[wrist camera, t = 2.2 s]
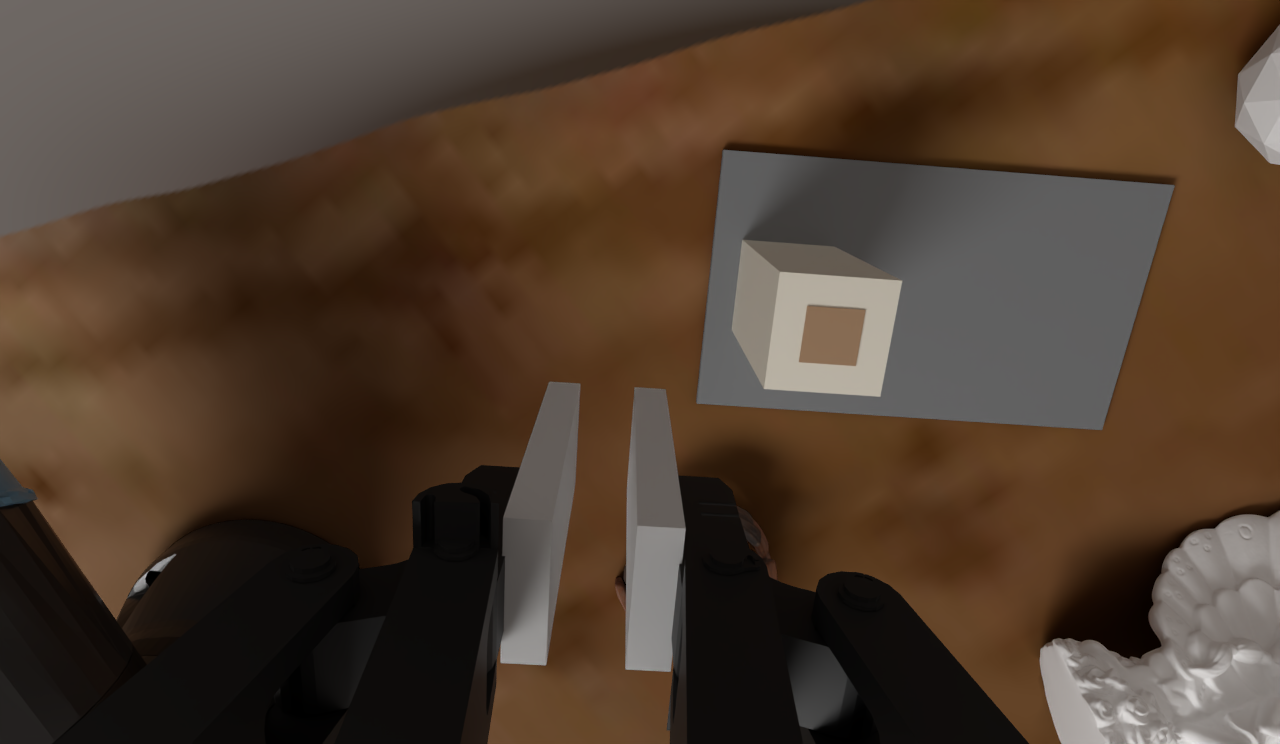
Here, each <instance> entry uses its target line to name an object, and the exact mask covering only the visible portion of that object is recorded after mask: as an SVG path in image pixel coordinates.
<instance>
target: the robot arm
mask: <svg viewBox="0 0 1280 744" xmlns="http://www.w3.org/2000/svg"><path fill="white" fill-rule="evenodd" d="M579 401H580V384H577V383H561V382H549V384H548V387H547V390H546V393H545V396H544V399H543V402H542V404H541V407H540V410H539V413H538V416H537V419H536V422H535V425H534V428H533V431H532V434H531V437H530V440H529V443H528V446H527V449H526V452H525V455H524V457H523V460H522V463H521V466H520V468H518V467H502V466H485V465H481V466H479V467H478V468H476V469H475V470H473V471H472V472H470V473H469V474H467V475H466V476H465V477H464V479H463V481H462V483H448V484H443V485H438V486H434V487H431V488H429V489H427V490H425V491H423V492H421V493H419V494H418V495H417V496H416V497H415V499H414V500H413V501H412V511H413V550H412V553H411V555H410V558H409V560H406V561H403V562H400V563H396V564H391V565H386V566H380V567H372V568H365V569H359V564H358V557H357V555H356V554H355V553H353V552H352V551H351V550H350V549H348V548H345V547H341V546H338V545H330V544H329V543H327V542H325V541H324V540H322V539H320V538H318V537H316V536H314V535H312V534H310V533H308V532H305V531H303V530H300V529H298V528H295V527H292V526H288V525H285V524H280V523H276V522H270V521H262V520H233V521H225V522H220V523H216V524H212V525H208V526H205V527H202V528H200V529H198V530H195V531H193V532H191V533H189V534H187V535H186V536H184V537H183V538H181V539H180V540H178V541H177V542H176V543H174V544H173V545H172V546H171V547H170V548H169V549H167V550H166V551H165V552H164V553H163V554H162V555H161V556H159V557H158V558H157V559H156V560H155V561H154V562H153V563H152V564H151V565H149V566H148V568H147V569H146V570H145V571H144V572H143V573H142V575H141V576H140V577H139V578H138V580H137V581H136V583H135V584H134V586H133V587H132V589H131V591H130V593H129V595H128V597H127V599H126V601H125V603H124V605H123V607H122V609H121V611H120V613H119V615H118V617H117V619H115V618H114V617H113V615H112V614H111V612H110V611H109V609H108V608H107V607H106V605H105V604H104V602H103V601H102V599H101V598H100V596H99V595H98V594H97V592H96V591H95V589H94V588H93V586H92V585H91V584H90V582H89V581H88V579H87V578H86V576H85V575H84V574H83V572H82V571H81V569H80V568H79V566H78V565H77V564H76V562H75V561H74V559H73V558H72V556H71V555H70V554H69V552H68V551H67V549H66V548H65V546H64V545H63V544H62V542H61V541H60V539H59V538H58V536H57V535H56V534H55V532H54V531H53V529H52V528H51V526H50V525H49V524H48V522H47V521H46V519H45V518H44V516H43V515H42V514H41V512H40V511H39V509H38V508H37V506H36V505H35V504H34V502H33V501H32V500H37V496H36V494H35V492H34V491H33V490H31V489H27V488H24V487H22V486H21V485H20V483H19V482H18V481H17V480H16V478H15V477H14V476H13V475H12V473H11V472H10V471H9V470H8V468H7V467H6V466H5V464H4V463H3V462H2V461H1V459H0V744H487V742H488V735H489V728H490V722H491V715H492V709H493V702H494V695H495V689H496V667H497V655H498V651H499V647H500V644H501V663H512V664H531V665H546V663H547V657H548V650H549V644H550V638H551V632H552V626H553V619H554V613H555V607H556V601H557V595H558V588H559V582H560V576H561V570H562V563H563V557H564V551H565V545H566V539H567V532H568V526H569V520H570V514H571V507H572V501H573V495H574V489H575V479H576V459H577V440H578V420H579ZM672 652H673V663H674V668H673V677H672V686H671V695H670V705H669V714H668V723H667V730H670V744H1029V743H1028V742H1027V741H1026V739H1025V738H1024V737H1023V736H1022V735H1021V734H1020V733H1019V731H1018V730H1017V729H1016V728H1015V727H1014V726H1013V724H1012V723H1011V722H1010V721H1009V720H1008V719H1007V718H1006V716H1005V715H1004V714H1003V713H1002V712H1001V711H1000V709H999V708H998V707H997V706H996V705H995V704H994V702H993V701H992V700H991V699H990V698H989V697H988V696H987V694H986V693H985V692H984V691H983V690H982V689H981V687H980V686H979V685H978V684H977V683H976V682H975V681H974V679H973V678H972V677H971V676H970V675H969V674H968V672H967V671H966V670H965V669H964V668H963V667H962V665H961V664H960V663H959V662H958V661H957V660H956V659H955V657H954V656H953V655H952V654H951V653H950V652H949V650H948V649H947V648H946V647H945V646H944V645H943V644H942V642H941V641H940V640H939V639H938V638H937V637H936V635H935V634H934V633H933V632H932V631H931V630H930V628H929V627H928V626H927V625H926V624H925V623H924V622H923V620H922V619H921V618H920V617H919V616H918V615H917V613H916V612H915V611H914V610H913V609H912V608H911V607H910V605H909V604H908V603H907V602H906V601H905V600H904V598H903V597H902V596H901V595H900V594H899V593H898V592H897V591H895V590H894V589H893V588H892V587H891V586H890V585H888V584H886V583H884V582H882V581H880V580H878V579H876V578H874V577H872V576H869V575H866V574H865V575H864V574H863V573H857V572H842V571H841V572H836V573H831V574H827V575H826V576H824V577H823V578H821V579H820V580H819V582H818V585H817V589H816V592H813V591H809V590H805V589H801V588H797V587H793V586H790V585H787V584H784V583H781V582H779V581H777V580H775V579H773V578H771V577H769V574H768V569H767V566H766V564H765V562H764V561H763V559H762V558H761V557H760V556H759V555H757V554H756V553H755V552H754V551H752V550H750V549H749V546H748V543H747V540H746V536H745V533H744V529H743V526H742V523H741V519H740V517H739V512H738V509H737V506H736V502H735V499H734V495H733V492H732V490H731V489H730V488H729V487H728V486H727V485H726V484H725V483H723V482H722V481H721V480H720V479H719V478H709V477H693V476H678V472H677V465H676V458H675V451H674V444H673V437H672V430H671V423H670V417H669V410H668V403H667V396H666V389H652V388H637V387H635V390H634V403H633V416H632V429H631V442H630V455H629V468H628V481H627V544H626V660H625V669H628V670H647V671H666V672H670V671H671V662H672Z"/></svg>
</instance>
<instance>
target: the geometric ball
mask: <svg viewBox="0 0 1280 744" xmlns="http://www.w3.org/2000/svg"><path fill="white" fill-rule="evenodd" d="M1235 127H1236V128H1237V129H1238V131H1239V132H1240V133H1241V134H1242V135H1243V136H1244V137H1245V138H1246V139H1247V140H1248V141H1249V142H1250V143H1251V144H1252V145H1253V146H1254V147H1255V148H1256V149H1257V150H1258V151H1259V152H1260V153H1261V154H1262V155H1263V156H1264V157H1265V159H1266V160H1267V161H1268V162H1269V163H1271V164H1278V165H1280V25H1279V26H1278V27H1277V29H1276V30H1275V31H1274V32H1273V33H1272V35H1271V36H1270V37H1269V38H1268V39H1267V41H1266V42H1265V43H1264V44H1263V45H1262V47H1261V48H1260V49H1259V50H1258V51H1257V52H1256V54H1255V55H1254V56H1253V57H1252V58H1251V60H1250V61H1249V62H1248V63H1247V64H1246V66H1245V67H1244V68H1243V69H1242V70H1241V72H1240V73H1239V74H1238V85H1237V100H1236V116H1235Z"/></svg>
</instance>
